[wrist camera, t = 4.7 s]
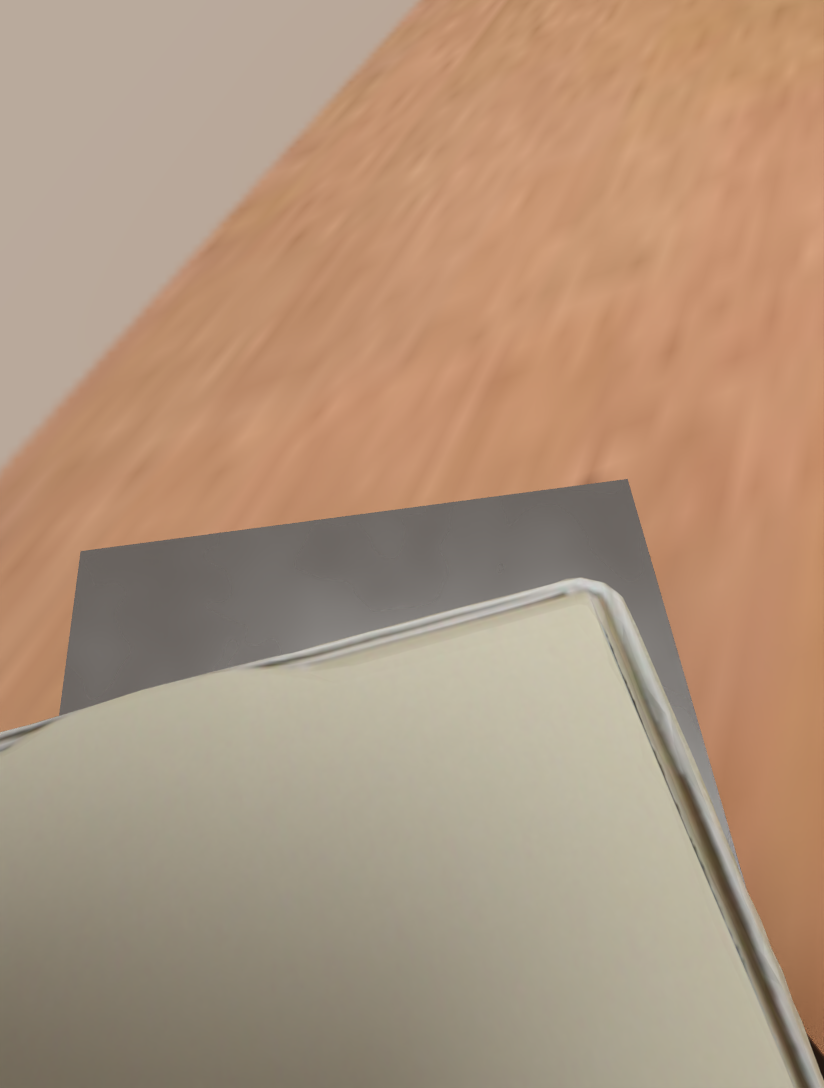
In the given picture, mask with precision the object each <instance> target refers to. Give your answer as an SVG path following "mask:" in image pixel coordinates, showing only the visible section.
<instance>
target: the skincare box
mask: <svg viewBox="0 0 824 1088" xmlns="http://www.w3.org/2000/svg"><path fill="white" fill-rule="evenodd" d="M0 1088H824V1080H823V1077H822V1075H821V1072H820V1069H819V1067H818V1064H817V1061H816V1059H815V1056H814V1053H813V1050H812V1048H811V1045H810V1042H809V1039H808V1037H807V1034H806V1031H805V1028H804V1026H803V1023H802V1021H801V1018H800V1016H799V1014H798V1012H797V1009H796V1007H795V1005H794V1003H793V1000H792V997H791V995H790V992H789V989H788V986H787V983H786V980H785V977H784V974H783V971H782V969H781V967H780V965H779V963H778V961H777V959H776V957H775V955H774V953H773V951H772V948H771V946H770V943H769V940H768V938H767V935H766V932H765V930H764V927H763V924H762V921H761V919H760V917H759V915H758V913H757V911H756V909H755V906H754V904H753V902H752V900H751V898H750V896H749V894H748V892H747V890H746V887H745V885H744V882H743V879H742V877H741V874H740V871H739V869H738V866H737V863H736V861H735V858H734V856H733V853H732V851H731V849H730V846H729V844H728V842H727V840H726V837H725V835H724V833H723V830H722V828H721V825H720V822H719V820H718V817H717V815H716V812H715V809H714V807H713V804H712V801H711V799H710V796H709V794H708V791H707V789H706V787H705V784H704V782H703V779H702V777H701V774H700V772H699V770H698V767H697V765H696V762H695V760H694V758H693V756H692V753H691V751H690V749H689V746H688V744H687V742H686V740H685V737H684V735H683V733H682V730H681V728H680V726H679V724H678V721H677V719H676V717H675V714H674V712H673V710H672V708H671V705H670V703H669V701H668V699H667V696H666V694H665V692H664V689H663V687H662V685H661V682H660V680H659V677H658V675H657V673H656V670H655V668H654V666H653V663H652V661H651V659H650V656H649V654H648V652H647V649H646V647H645V645H644V642H643V640H642V637H641V635H640V633H639V630H638V628H637V626H636V624H635V622H634V620H633V618H632V615H631V613H630V611H629V609H628V607H627V605H626V603H625V601H624V599H623V597H622V596H621V595H620V594H619V593H617V592H616V591H615V590H614V589H612V588H611V587H610V586H609V585H607V584H606V583H603V582H599V581H595V580H591V579H587V578H583V577H580V578H570V579H565V580H562V581H559V582H556V583H553V584H550V585H546V586H542V587H538V588H534V589H530V590H526V591H522V592H518V593H514V594H510V595H506V596H502V597H499V598H495V599H491V600H487V601H483V602H479V603H475V604H471V605H467V606H463V607H459V608H455V609H452V610H448V611H444V612H440V613H436V614H433V615H429V616H425V617H421V618H418V619H414V620H410V621H407V622H403V623H399V624H396V625H392V626H388V627H384V628H381V629H377V630H373V631H370V632H366V633H362V634H358V635H354V636H351V637H347V638H343V639H339V640H336V641H332V642H328V643H324V644H320V645H317V646H314V647H311V648H307V649H304V650H301V651H298V652H295V653H290V654H285V655H280V656H275V657H271V658H267V659H262V660H258V661H254V662H250V663H246V664H242V665H238V666H234V667H230V668H226V669H222V670H218V671H214V672H210V673H206V674H202V675H198V676H194V677H191V678H187V679H183V680H179V681H175V682H171V683H167V684H163V685H159V686H155V687H151V688H148V689H144V690H140V691H137V692H134V693H131V694H128V695H125V696H121V697H118V698H115V699H112V700H109V701H106V702H103V703H100V704H96V705H93V706H90V707H87V708H83V709H80V710H77V711H73V712H70V713H67V714H63V715H60V716H57V717H54V718H50V719H47V720H44V721H40V722H37V723H34V724H31V725H27V726H23V727H19V728H15V729H12V730H8V731H4V732H0Z"/></svg>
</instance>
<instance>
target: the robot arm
mask: <svg viewBox="0 0 824 1088" xmlns="http://www.w3.org/2000/svg"><path fill="white" fill-rule="evenodd" d="M806 1034H807V1033H806ZM807 1037H808V1039H809V1042H810V1045H811V1048H812V1050H813V1053H814V1056H815V1059H816V1061H817V1064H818V1067H819V1069H820V1072H821V1075H822V1077H823V1080H824V1055H823V1054H822V1053H821V1051H820V1050H819V1049H818V1047H817V1046H816V1045H815V1043H814V1042H813V1041H812V1040H811V1038H810V1037H809V1036H808V1034H807Z"/></svg>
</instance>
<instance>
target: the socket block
mask: <svg viewBox="0 0 824 1088" xmlns="http://www.w3.org/2000/svg"><path fill="white" fill-rule="evenodd" d="M580 577H583V578H587V579H591V580H595V581H599V582H603V583H606V584H607V585H609V586H610V587H611V588H612V589H614V590H615V591H616V592H617V593H619V594H620V595H621V596H622V597H623V599H624V601H625V603H626V605H627V607H628V609H629V611H630V613H631V615H632V618H633V620H634V622H635V624H636V626H637V628H638V630H639V633H640V635H641V637H642V640H643V642H644V645H645V647H646V649H647V652H648V654H649V656H650V659H651V661H652V663H653V666H654V668H655V670H656V673H657V675H658V677H659V680H660V682H661V685H662V687H663V689H664V692H665V694H666V696H667V699H668V701H669V703H670V705H671V708H672V710H673V712H674V714H675V717H676V719H677V721H678V724H679V726H680V728H681V730H682V733H683V735H684V737H685V740H686V742H687V744H688V746H689V749H690V751H691V753H692V756H693V758H694V760H695V762H696V765H697V767H698V770H699V772H700V774H701V777H702V779H703V782H704V784H705V787H706V789H707V791H708V794H709V796H710V799H711V801H712V804H713V807H714V809H715V812H716V815H717V817H718V820H719V822H720V825H721V828H722V830H723V833H724V835H725V837H726V840H727V842H728V844H729V846H730V849H731V851H732V853H733V856H734V858H735V861H736V863H737V866H738V869H739V871H740V874H741V877H742V879H743V875H742V872H741V869H740V865H739V862H738V858H737V855H736V851H735V848H734V844H733V841H732V838H731V834H730V831H729V827H728V824H727V820H726V817H725V813H724V810H723V807H722V803H721V800H720V796H719V793H718V789H717V786H716V782H715V779H714V776H713V772H712V769H711V765H710V762H709V758H708V755H707V751H706V748H705V745H704V741H703V738H702V734H701V731H700V727H699V724H698V720H697V717H696V714H695V710H694V707H693V703H692V700H691V696H690V693H689V689H688V686H687V683H686V679H685V676H684V672H683V669H682V665H681V662H680V658H679V655H678V652H677V648H676V645H675V641H674V638H673V634H672V631H671V627H670V624H669V620H668V617H667V614H666V610H665V607H664V603H663V600H662V596H661V593H660V589H659V586H658V583H657V579H656V576H655V572H654V569H653V565H652V562H651V558H650V555H649V552H648V548H647V545H646V541H645V538H644V534H643V531H642V527H641V524H640V521H639V517H638V514H637V510H636V507H635V503H634V500H633V496H632V493H631V490H630V486H629V483H628V479H625V480H617V481H610V482H602V483H595V484H587V485H580V486H572V487H564V488H557V489H549V490H542V491H534V492H526V493H519V494H511V495H504V496H496V497H489V498H481V499H473V500H466V501H458V502H451V503H443V504H436V505H428V506H420V507H413V508H405V509H398V510H390V511H383V512H375V513H367V514H360V515H352V516H345V517H337V518H329V519H322V520H314V521H307V522H299V523H292V524H284V525H276V526H269V527H261V528H254V529H246V530H239V531H231V532H223V533H216V534H208V535H201V536H193V537H186V538H178V539H170V540H163V541H155V542H148V543H140V544H133V545H125V546H117V547H110V548H102V549H95V550H87V551H81V553H80V561H79V569H78V576H77V584H76V591H75V599H74V607H73V614H72V622H71V629H70V637H69V645H68V652H67V660H66V668H65V675H64V683H63V690H62V698H61V706H60V713H59V716H60V715H63V714H67V713H70V712H73V711H77V710H80V709H83V708H87V707H90V706H93V705H96V704H100V703H103V702H106V701H109V700H112V699H115V698H118V697H121V696H125V695H128V694H131V693H134V692H137V691H140V690H144V689H148V688H151V687H155V686H159V685H163V684H167V683H171V682H175V681H179V680H183V679H187V678H191V677H194V676H198V675H202V674H206V673H210V672H214V671H218V670H222V669H226V668H230V667H234V666H238V665H242V664H246V663H250V662H254V661H258V660H262V659H267V658H271V657H275V656H280V655H285V654H290V653H295V652H298V651H301V650H304V649H307V648H311V647H314V646H317V645H320V644H324V643H328V642H332V641H336V640H339V639H343V638H347V637H351V636H354V635H358V634H362V633H366V632H370V631H373V630H377V629H381V628H384V627H388V626H392V625H396V624H399V623H403V622H407V621H410V620H414V619H418V618H421V617H425V616H429V615H433V614H436V613H440V612H444V611H448V610H452V609H455V608H459V607H463V606H467V605H471V604H475V603H479V602H483V601H487V600H491V599H495V598H499V597H502V596H506V595H510V594H514V593H518V592H522V591H526V590H530V589H534V588H538V587H542V586H546V585H550V584H553V583H556V582H559V581H562V580H565V579H570V578H580ZM743 882H744V879H743ZM744 885H745V882H744ZM745 887H746V886H745ZM746 890H747V889H746Z"/></svg>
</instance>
